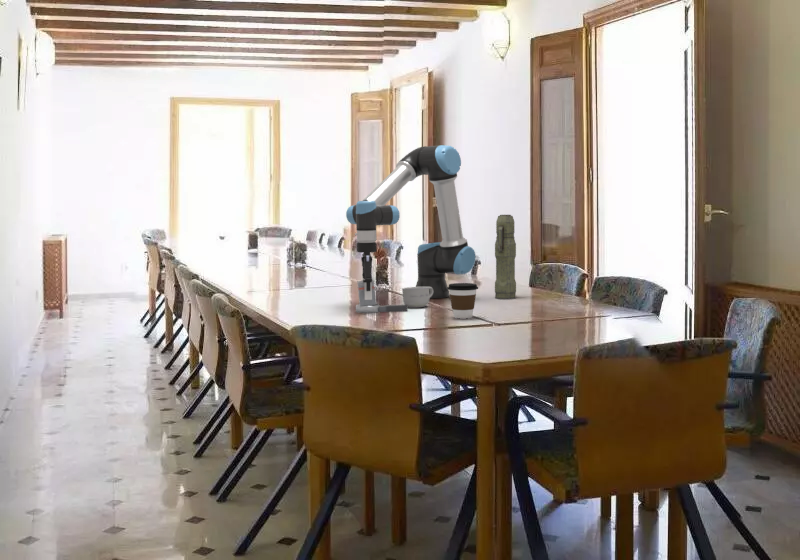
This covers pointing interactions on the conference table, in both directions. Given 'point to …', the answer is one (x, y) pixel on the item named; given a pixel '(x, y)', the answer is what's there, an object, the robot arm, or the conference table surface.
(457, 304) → the coffee cup
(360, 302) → the red-striped grey block
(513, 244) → the thermos
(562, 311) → the conference table surface
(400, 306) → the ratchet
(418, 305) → the teacup
